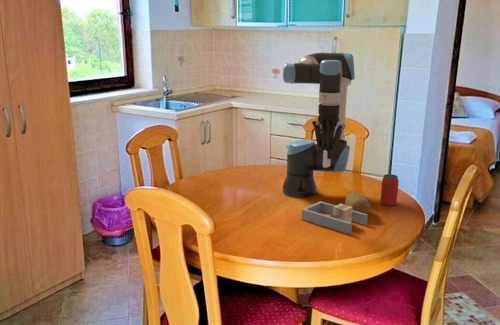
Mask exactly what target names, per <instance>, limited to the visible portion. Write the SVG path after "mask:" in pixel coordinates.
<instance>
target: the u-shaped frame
mask: <svg viewBox="0 0 500 325" xmlns="http://www.w3.org/2000/svg"><path fill="white" fill-rule="evenodd" d="M335 206H337V205H335V204H332V203H328V202H325V201H321V200H319V201H318V202H316V203H313V204H311V205H309V206H306V207H304V208H302V209H301V220H303V221H306V222H308V223H311V224H315V225H319V226H322V227H325V228H328V229H330V230H331V229H332V230H335V231H337V232H341V233H343V234H347V235H351V234H352V230H353V228H352V227H353V223H357V224H359V225H363V226H367V225H368V213H365V214H364V213H361V212H357V211H354V210H352V222H353V223H350V222H347V221H343V220H340V219H337V218H333V209H334V207H335Z"/></svg>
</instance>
